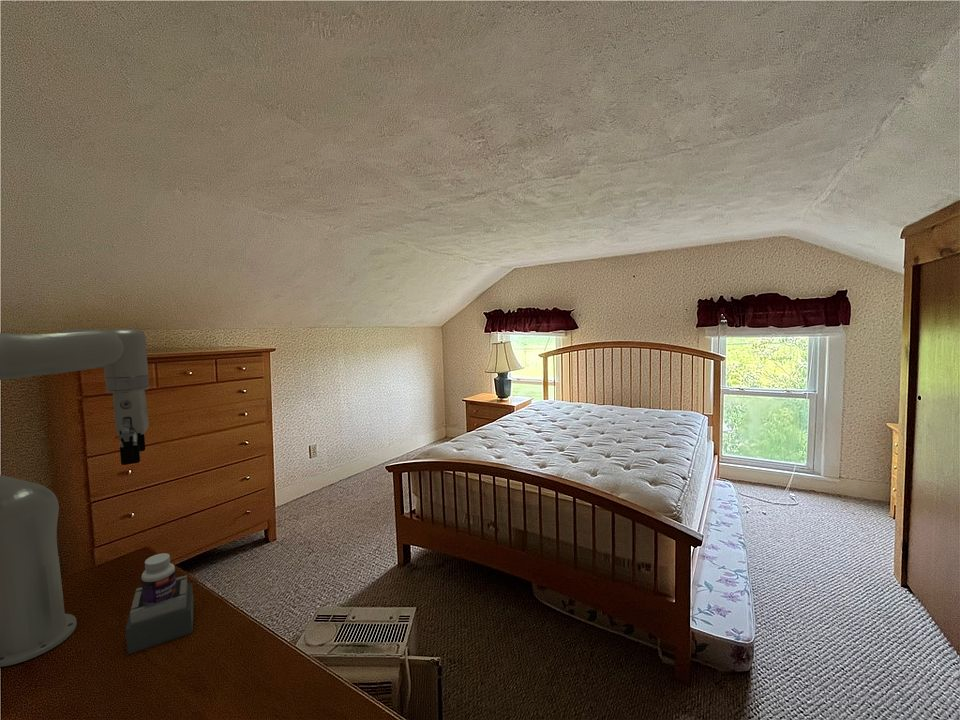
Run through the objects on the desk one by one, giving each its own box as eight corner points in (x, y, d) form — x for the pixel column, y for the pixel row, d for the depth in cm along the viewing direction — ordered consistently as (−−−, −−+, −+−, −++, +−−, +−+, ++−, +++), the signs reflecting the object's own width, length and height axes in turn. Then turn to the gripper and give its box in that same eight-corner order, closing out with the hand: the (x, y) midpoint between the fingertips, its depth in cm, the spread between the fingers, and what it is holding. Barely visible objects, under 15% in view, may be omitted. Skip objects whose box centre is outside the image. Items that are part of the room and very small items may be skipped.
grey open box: (127, 654, 79) (124, 617, 78) (135, 622, 87) (132, 587, 86) (192, 633, 84) (189, 597, 83) (193, 604, 92) (191, 572, 92)
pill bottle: (159, 615, 82) (155, 568, 81) (136, 611, 83) (132, 564, 82) (184, 597, 87) (180, 552, 86) (162, 593, 88) (158, 549, 87)
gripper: (144, 387, 90) (150, 465, 92) (152, 377, 105) (158, 444, 107) (97, 391, 86) (105, 472, 88) (113, 380, 101) (119, 450, 102)
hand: (134, 457), depth 97 cm, fingers open, 9 cm apart
